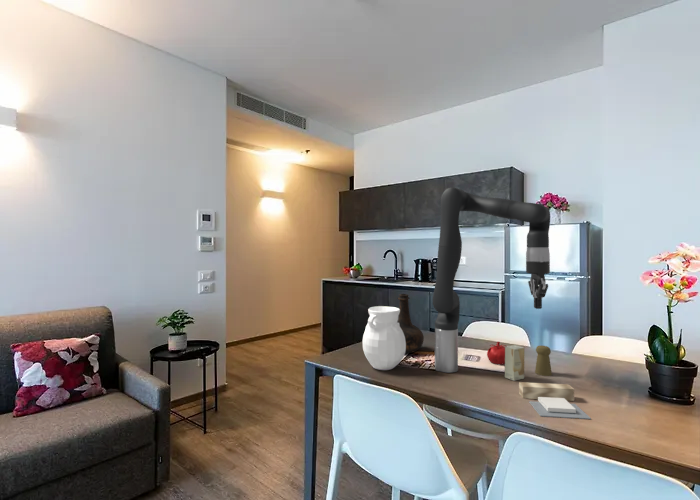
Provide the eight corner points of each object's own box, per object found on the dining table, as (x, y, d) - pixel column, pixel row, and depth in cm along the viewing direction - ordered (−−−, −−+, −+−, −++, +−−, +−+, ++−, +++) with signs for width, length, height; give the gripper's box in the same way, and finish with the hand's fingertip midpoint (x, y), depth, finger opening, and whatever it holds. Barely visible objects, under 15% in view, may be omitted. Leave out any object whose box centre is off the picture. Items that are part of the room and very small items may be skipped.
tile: (537, 400, 118) (547, 417, 110) (538, 391, 117) (548, 408, 109) (563, 401, 117) (575, 419, 109) (564, 392, 116) (576, 409, 108)
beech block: (522, 398, 120) (522, 386, 120) (519, 393, 124) (519, 382, 124) (574, 401, 118) (574, 389, 118) (568, 396, 122) (568, 384, 122)
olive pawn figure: (554, 376, 140) (554, 348, 140) (537, 375, 142) (537, 347, 141) (548, 371, 146) (548, 344, 146) (532, 370, 148) (532, 343, 147)
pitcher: (385, 377, 140) (384, 314, 140) (353, 366, 154) (353, 308, 154) (415, 366, 153) (414, 308, 152) (383, 357, 166) (383, 303, 166)
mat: (540, 416, 108) (540, 415, 108) (528, 402, 117) (528, 401, 117) (591, 419, 106) (591, 418, 106) (574, 404, 115) (574, 403, 115)
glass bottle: (430, 350, 177) (430, 293, 177) (410, 358, 164) (409, 297, 164) (400, 343, 189) (400, 291, 189) (379, 350, 176) (379, 294, 176)
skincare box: (513, 381, 136) (513, 349, 135) (504, 377, 139) (504, 346, 139) (525, 378, 138) (525, 347, 138) (515, 374, 142) (515, 344, 142)
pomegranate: (515, 363, 157) (516, 342, 156) (502, 367, 151) (502, 346, 151) (495, 357, 165) (495, 337, 165) (482, 361, 159) (482, 340, 159)
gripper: (520, 259, 135) (520, 305, 135) (533, 260, 122) (533, 311, 122) (541, 259, 134) (541, 305, 134) (556, 260, 121) (556, 311, 121)
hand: (537, 308), depth 128 cm, fingers closed
